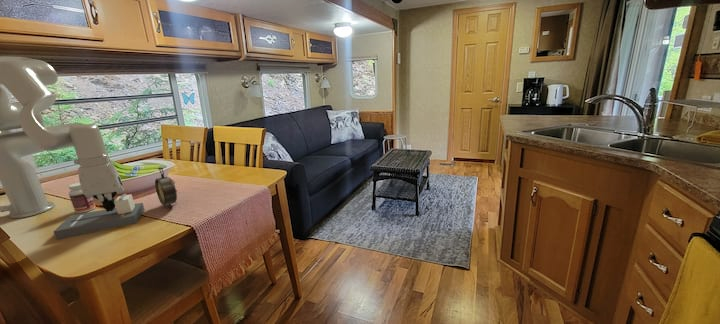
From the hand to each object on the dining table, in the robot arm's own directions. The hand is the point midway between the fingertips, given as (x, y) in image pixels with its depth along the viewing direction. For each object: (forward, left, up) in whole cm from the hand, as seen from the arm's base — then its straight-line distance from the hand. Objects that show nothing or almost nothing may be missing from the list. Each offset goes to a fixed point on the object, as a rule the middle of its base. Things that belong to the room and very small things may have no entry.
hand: (110, 209), depth 106 cm
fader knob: (+4, 0, -1) cm, 5 cm away
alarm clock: (+17, +5, -5) cm, 18 cm away
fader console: (-3, 0, -5) cm, 6 cm away
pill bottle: (-14, +18, -5) cm, 23 cm away
